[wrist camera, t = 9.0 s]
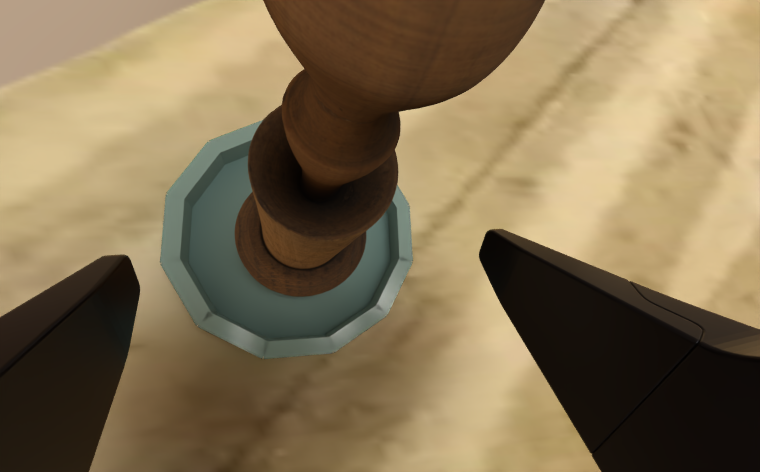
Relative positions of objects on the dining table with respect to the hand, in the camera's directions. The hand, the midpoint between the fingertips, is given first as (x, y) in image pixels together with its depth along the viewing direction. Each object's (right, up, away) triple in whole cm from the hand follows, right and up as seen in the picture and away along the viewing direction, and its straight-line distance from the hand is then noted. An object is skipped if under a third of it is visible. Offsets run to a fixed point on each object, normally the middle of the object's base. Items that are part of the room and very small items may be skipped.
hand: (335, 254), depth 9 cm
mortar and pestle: (-3, 0, +11) cm, 11 cm away
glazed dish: (-4, 0, +11) cm, 12 cm away
